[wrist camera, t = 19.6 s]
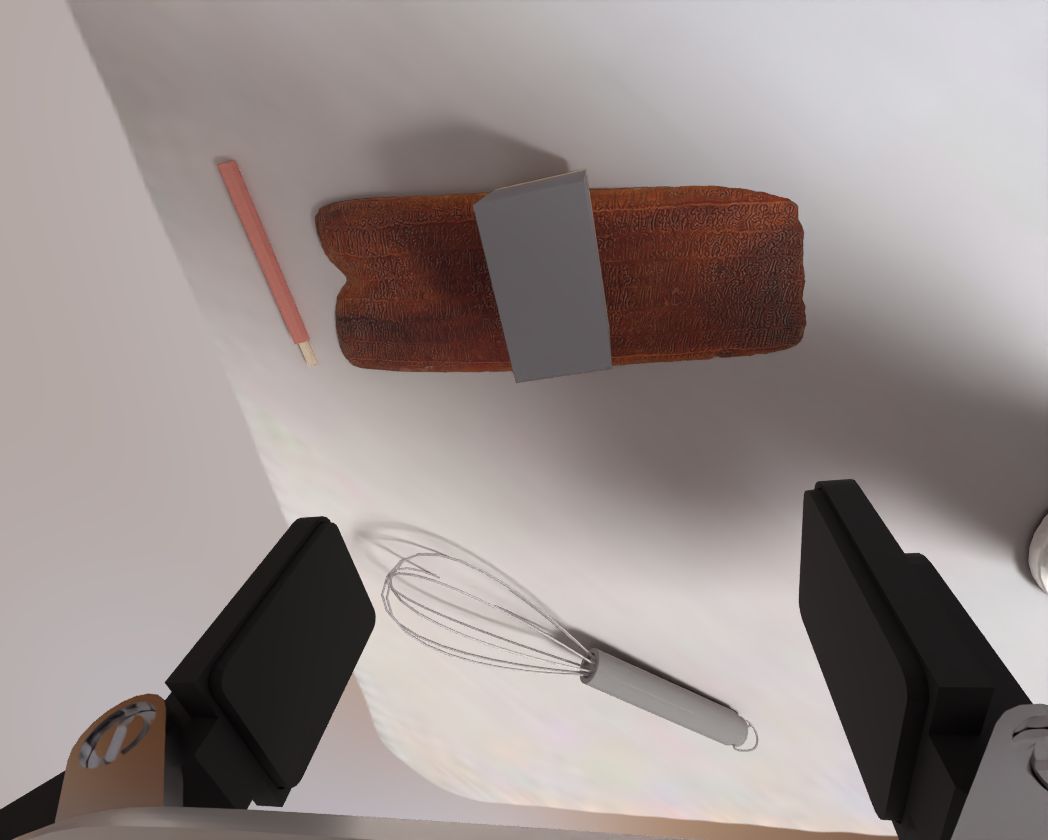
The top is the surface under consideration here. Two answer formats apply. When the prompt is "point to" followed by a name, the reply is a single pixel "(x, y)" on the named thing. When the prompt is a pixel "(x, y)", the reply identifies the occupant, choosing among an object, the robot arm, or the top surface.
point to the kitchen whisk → (604, 674)
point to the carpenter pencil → (266, 257)
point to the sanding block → (546, 276)
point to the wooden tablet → (626, 267)
